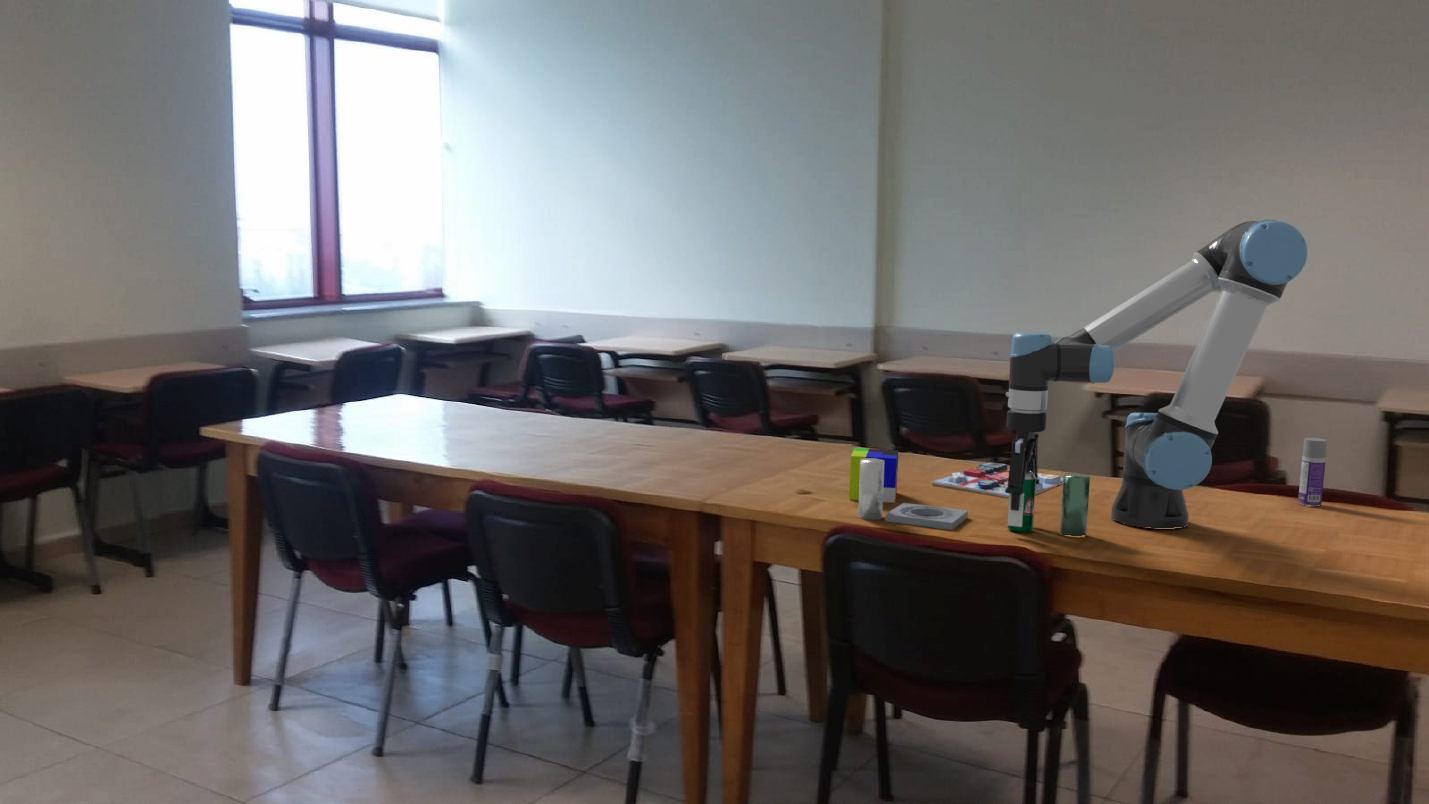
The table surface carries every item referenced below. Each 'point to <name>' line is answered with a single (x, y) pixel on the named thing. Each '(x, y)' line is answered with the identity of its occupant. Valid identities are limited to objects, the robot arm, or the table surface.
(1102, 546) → the table surface
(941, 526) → the socket board
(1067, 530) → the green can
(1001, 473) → the puzzle board
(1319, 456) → the container
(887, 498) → the puzzle toy
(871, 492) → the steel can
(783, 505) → the table surface
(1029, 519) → the soda can
